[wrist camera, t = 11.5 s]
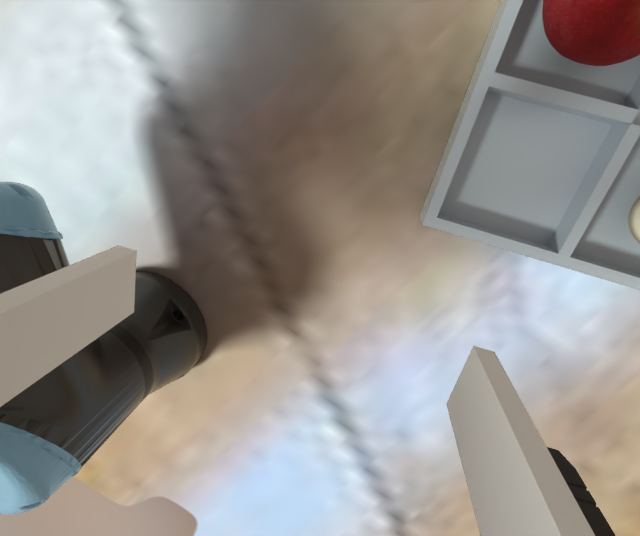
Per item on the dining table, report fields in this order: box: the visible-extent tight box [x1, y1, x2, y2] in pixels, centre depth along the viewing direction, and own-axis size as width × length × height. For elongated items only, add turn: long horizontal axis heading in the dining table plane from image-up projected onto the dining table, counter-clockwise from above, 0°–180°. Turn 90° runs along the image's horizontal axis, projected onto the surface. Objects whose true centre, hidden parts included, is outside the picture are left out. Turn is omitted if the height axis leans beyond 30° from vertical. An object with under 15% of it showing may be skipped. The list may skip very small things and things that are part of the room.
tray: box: [419, 0, 640, 290], centre depth 29 cm, size 25×25×4 cm
